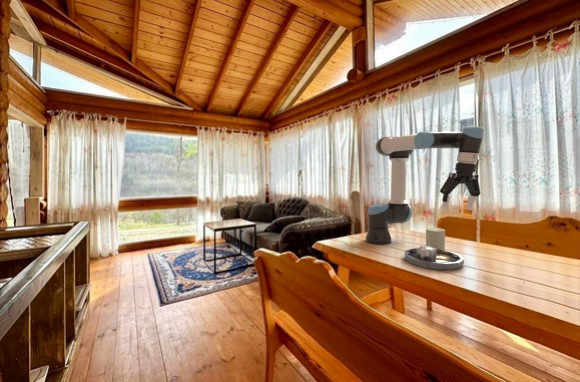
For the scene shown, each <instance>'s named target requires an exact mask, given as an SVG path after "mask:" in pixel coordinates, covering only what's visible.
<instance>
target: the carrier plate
mask: <svg viewBox="0 0 580 382" xmlns="http://www.w3.org/2000/svg"><path fill="white" fill-rule="evenodd" d="M404 260H405V262H407V263H409V264H411V265H413V266H415V267H418V268H419V267H420V268H422V269H427V270H436V271H454V270H459V269H461V268H463V266H464V264H465V261H464V260H465V259H464V258H463V256H462V255H460V254H459V253H456V252H453V251H451V250H446V249H445V250H441V249H436V248H432V247H431V246H428V247H427V246H426V245H425V246H424V245H419V246H416V247H413V248H412V247H411V248H409V249H406V250H404Z"/></svg>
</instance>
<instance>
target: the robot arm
mask: <svg viewBox="0 0 580 382" xmlns="http://www.w3.org/2000/svg"><path fill="white" fill-rule="evenodd" d="M483 136H484V127H482V126H473V125H472V126H470V125H469V126H464V127H463V129H462V131H428V130H427V131H419V132H417V133H415V134H409V135H402V136H383V137H381V138H379V139H378V140H377V141H376V143H375V150H376V152H377V153H378V155H381V156H385V157H388V160H390V162H391V170H390V171H391V174H390V175H391V176H390V179H391V181H390V200H389V201H388V202H387V203H386V202H385V203H374V204H371V205H370V206H369V207H368V212H367V215H368V228H367V229H368V230H367V233H366V237H365V242H367V243H369V244H372V245H373V244H374V245H389V244H391V243H392V236H391V234H390V230H389V225H392V224H393V225H394V224H404V223H408V222H409V221H410V220H411V218H412V217H413V209H412V207H411V205H409V202H408V201H407V200H406V196H407V195H406V191H407V190H406V188H407V186H406V185H407V162H408V160H410V156H412V155H413V152H414V151H416V150H423V149H424V150H426V149H458V153H457V158H456V163H455V168H454V171H455V172H451V171H450V172H449V173H448V176H447V179H446V180H445V182H443V184H442V187H441V188H440V190H439V193H441V194H442V200H441V201H442V204H441V209H442V210H446V211H447V210H449V206H450V200H451V193H452V192H453V191H454V190H455V189H456V188H457V186H458V185H462V184H463V185H465V187H466V188H467V190H468V193H469V194H470V195H468V196H467V201H466V205H465V210H469V211H473V207H474V204H475V202H476V197H479V196H480V195H481V194H482V193H481V188H480V183H479V177H480V176H479V174H476V173H475V172H476V169H477V162H478V159H479V154H480V149H481V145H482V142H483V138H484V137H483Z"/></svg>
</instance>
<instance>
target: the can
mask: <svg viewBox="0 0 580 382" xmlns="http://www.w3.org/2000/svg"><path fill="white" fill-rule="evenodd" d="M425 246H427V247H428V246H431V247H432V248H436V249H441V250H446V230H445V229H444V228H441V227H440V228H439V227H426V228H425Z"/></svg>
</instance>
